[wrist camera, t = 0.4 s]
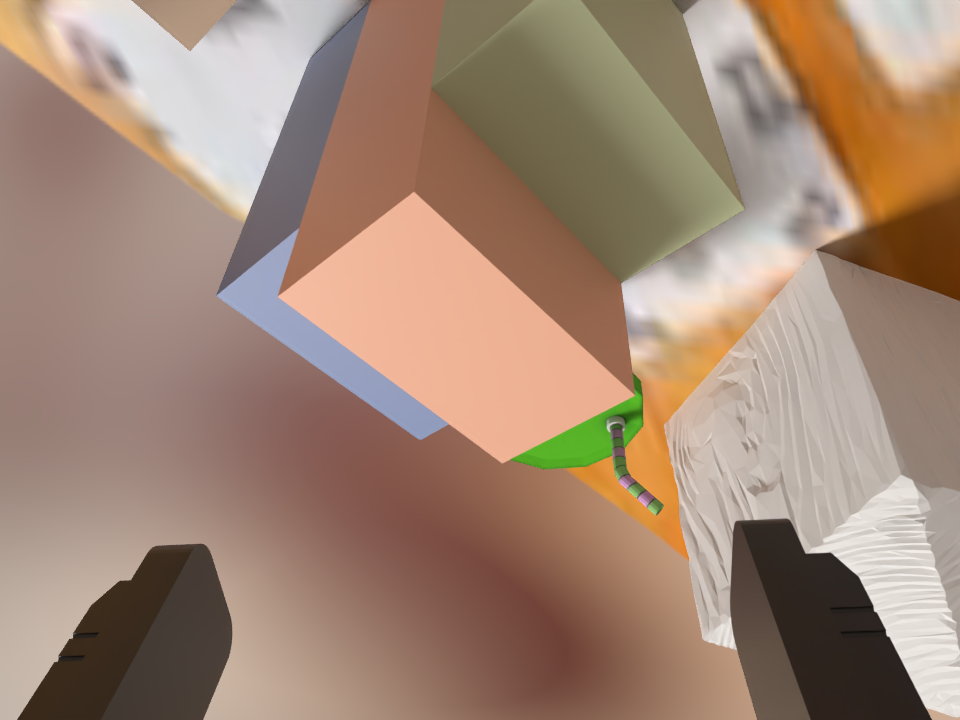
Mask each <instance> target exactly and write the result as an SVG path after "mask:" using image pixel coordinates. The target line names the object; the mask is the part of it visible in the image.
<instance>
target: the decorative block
mask: <svg viewBox="0 0 960 720" xmlns="http://www.w3.org/2000/svg"><path fill="white" fill-rule="evenodd" d="M664 428H665V434H666V436H667V443H668V447H669V455H670V462H671V464H672V466H673V468H674V476H675V480H676V483H677V487H678V493H679V515H680V523H681V528H682V532H683V536H684V540H685V544H686V548H687V552H688V556H689V559H690V562H689V566H690V572H691V580H692V586H693V592H694V597H695V601H696V605H697V611H698V616H699V620H700V626H701V632H702V637H703V640H705V641H707V642H710V643H716V644H717V645H723V646H724V647H730V648H732V649H735V650H737V648H736V644H735V640H734V636H733V630H732V623H731V614H730V587H731V566H732V545H733V529H734V524H735V522H736V521H739V520H761V519H783V518H787V519H789V520H790V521H791V523H792V525H793V527H794V529H795V531H796V533H797V536H798V538H799V540H800V542H801V545H802V547H803V549H804V551H805V554H806V553H830V552H831V553H832V554H833V555H834V556H836V557H837V558H838V559H839V560H840V561H841V562H842V563H844V564H845V565H846V566H847V567H848V568H849V569H850V570H852V571H853V572H854V573H855V574H856V575H857V576H858V577H859V578H860V580H861V582H862V584H863V586H864V588H865V590H866V592H867V594H868V596H869V598H870V600H871V602H872V604H873V606H874V611H875V612H877V613H878V615H879V617H880V619H881V621H882V623H883V625H884V627H885V629H886V635H887V636H889V637H890V639H891V641H892V643H893V645H894V647H895V649H896V651H897V653H898V655H899V656H900V658H901V660H902V662H903V664H904V666H905V668H906V670H907V672H908V674H909V676H910V678H911V680H912V682H913V684H914V686H915V688H916V690H917V692H918V694H919V696H920V698H921V700H922V702H923V703H924V705H925V707H926V708H928V709H932V710H935V711H938V712H941V713H944V714H947V715H949V716H952V717H960V301H958V300H956V299H953V298H950V297H948V296H945V295H943V294H940V293H937V292H935V291H932V290H929V289H926V288H923V287H920V286H917V285H914V284H911V283H909V282H906V281H903V280H900V279H897V278H894V277H891V276H888V275H885V274H882V273H879V272H876V271H873V270H870V269H867V268H864V267H861V266H859V265H856V264H854V263H851V262H848V261H845V260H842V259H840V258H838V257H837V256H834V255H831V254H828V253H825V252H821V251H817V250H815V251H814V252H813V253H812V254H811V255H810V257H809V258H808V259H807V260H806V261H805V262H804V264H803V265H802V266H801V267H800V268H799V270H798V271H797V272H796V273H795V274H794V275H793V277H792V278H791V279H790V280H789V281H788V283H787V284H786V285H785V287H784V288H783V289H782V290H781V291H780V292H779V293H778V294H777V295H776V296H775V298H774V299H773V300H772V302H771V303H770V304H769V305H768V307H767V308H766V309H765V310H764V311H763V313H762V314H761V315H760V316H759V317H758V319H757V320H756V321H755V322H754V323H753V324H752V326H751V327H750V328H749V329H748V330H747V331H746V333H745V334H744V335H743V336H742V337H741V338H740V339H739V340H738V341H737V343H736V344H735V345H734V346H733V347H732V348H731V349H730V350H729V352H728V353H727V354H726V355H725V356H724V357H723V358H722V360H721V361H720V362H719V363H718V364H717V365H716V366H715V368H714V369H713V370H712V371H711V372H710V373H709V374H708V376H707V377H706V378H705V379H704V380H703V381H702V382H701V384H700V385H699V386H698V387H697V388H696V389H695V390H694V391H693V392H692V393H691V395H690V396H689V397H688V398H687V399H686V401H685V402H684V403H683V404H682V405H681V407H680V408H679V409H678V410H677V411H676V412H675V413H674V414H673V415H672V417H671V418H670V420H669V421H668V422H666V423H665V425H664Z"/></svg>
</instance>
